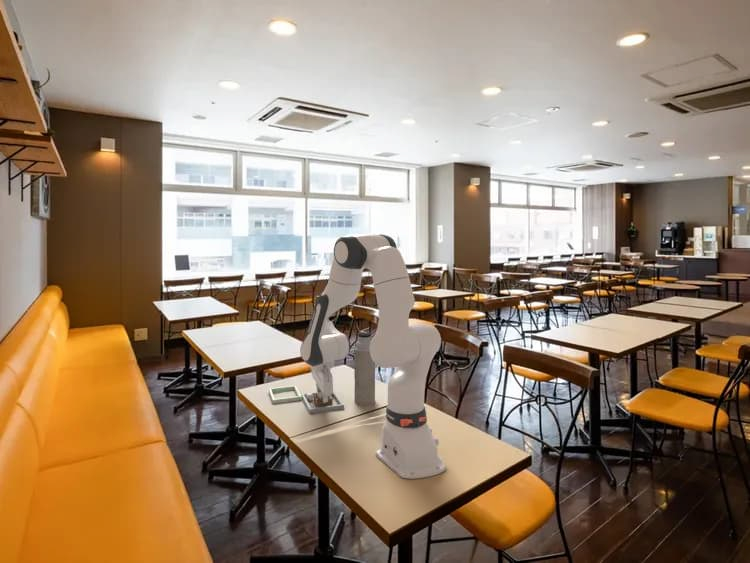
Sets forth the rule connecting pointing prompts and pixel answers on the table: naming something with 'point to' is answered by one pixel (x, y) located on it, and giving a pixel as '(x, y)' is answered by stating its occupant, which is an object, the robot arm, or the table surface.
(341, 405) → the slate tray
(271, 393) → the green tray
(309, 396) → the pebble
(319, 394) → the stone
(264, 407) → the table surface
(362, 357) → the thermos bottle
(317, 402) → the scoop cup
